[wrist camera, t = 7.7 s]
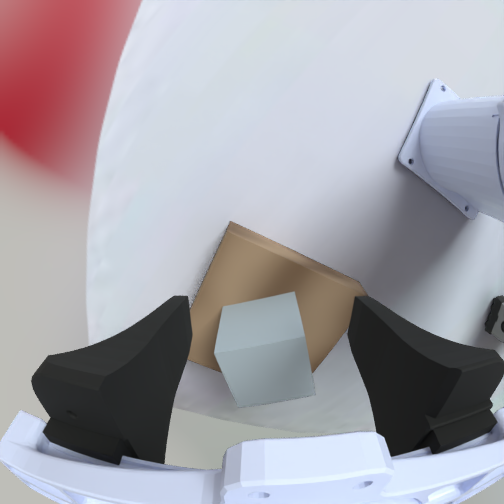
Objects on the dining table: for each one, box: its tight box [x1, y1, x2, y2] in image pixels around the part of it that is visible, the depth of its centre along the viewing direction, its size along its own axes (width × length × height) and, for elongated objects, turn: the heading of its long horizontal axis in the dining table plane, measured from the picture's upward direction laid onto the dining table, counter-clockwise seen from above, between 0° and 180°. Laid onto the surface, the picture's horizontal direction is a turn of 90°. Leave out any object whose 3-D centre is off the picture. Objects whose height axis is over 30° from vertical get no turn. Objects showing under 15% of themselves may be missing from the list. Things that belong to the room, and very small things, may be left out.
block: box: [214, 291, 316, 408], centre depth 18 cm, size 5×5×5 cm
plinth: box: [188, 221, 368, 373], centre depth 22 cm, size 11×11×2 cm
